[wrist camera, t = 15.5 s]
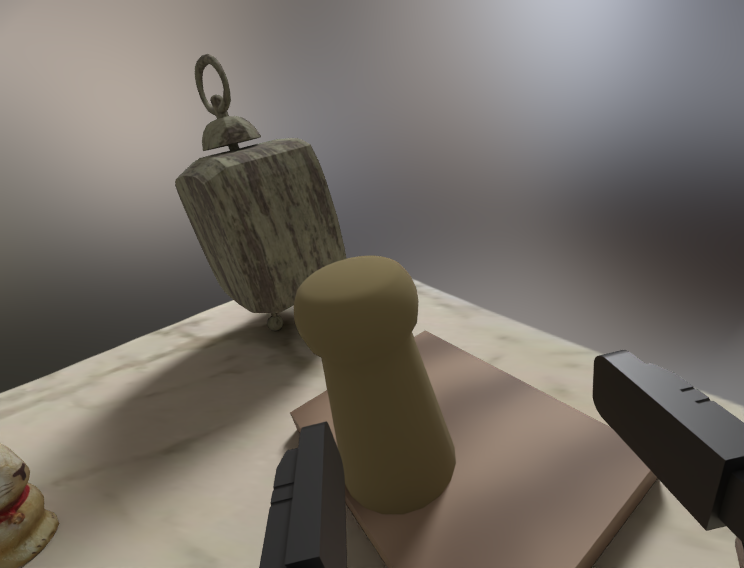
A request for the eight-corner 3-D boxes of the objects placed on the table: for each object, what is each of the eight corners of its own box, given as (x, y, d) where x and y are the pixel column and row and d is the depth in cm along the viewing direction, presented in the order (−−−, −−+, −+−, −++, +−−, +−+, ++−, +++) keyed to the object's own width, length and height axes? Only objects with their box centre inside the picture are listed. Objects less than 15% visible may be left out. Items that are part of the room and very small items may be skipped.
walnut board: (658, 476, 17) (662, 454, 16) (482, 712, 11) (478, 693, 11) (427, 345, 29) (425, 330, 29) (297, 428, 24) (289, 412, 24)
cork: (421, 540, 15) (361, 318, 10) (319, 481, 19) (240, 297, 14) (474, 432, 19) (447, 240, 15) (382, 401, 23) (337, 240, 18)
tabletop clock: (365, 319, 36) (285, 22, 25) (285, 368, 31) (148, 31, 21) (298, 288, 47) (224, 73, 36) (232, 321, 42) (126, 86, 32)
